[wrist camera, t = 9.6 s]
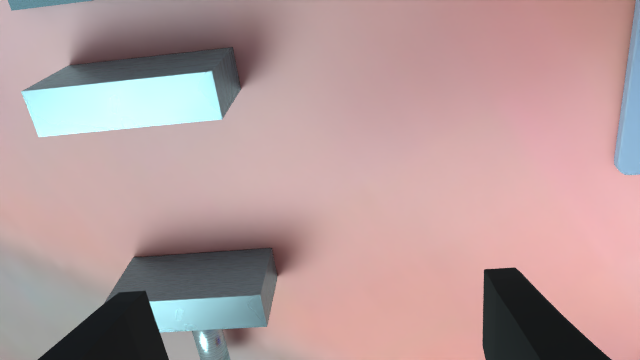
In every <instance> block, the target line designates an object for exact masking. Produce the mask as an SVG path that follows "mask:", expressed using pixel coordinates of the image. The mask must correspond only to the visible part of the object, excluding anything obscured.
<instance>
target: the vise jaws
mask: <svg viewBox="0 0 640 360" xmlns="http://www.w3.org/2000/svg"><path fill="white" fill-rule="evenodd" d="M240 90H241V87H240V82H239V77H238V72H237V67H236V62H235V57H234V51H233V47H231V48H222V49H213V50H204V51H195V52H186V53H177V54H168V55H159V56H150V57H141V58H132V59H123V60H114V61H105V62H96V63H87V64H78V65H69V66H67V67H65V68H63V69H61V70H59V71H58V72H56V73H54V74H52V75H50V76H49V77H47V78H45V79H43V80H41V81H40V82H38V83H36V84H34V85H32V86H31V87H29V88H27V89H25V90H23V91H22V95H23V97H24V100H25V102H26V105H27V108H28V110H29V113H30V115H31V118H32V121H33V123H34V126H35V128H36V131H37V133H38V136H39V137H44V136H54V135H65V134H75V133H85V132H96V131H106V130H116V129H127V128H137V127H147V126H158V125H168V124H178V123H189V122H199V121H209V120H220V119H223V117H224V116H225V114H226V112H227V111H228V109H229V108H230V106H231V104H232V103H233V101H234V100H235V98H236V96H237V95H238V93H239V92H240ZM276 282H277V272H276V267H275V262H274V257H273V252H272V248H265V249H250V250H236V251H221V252H207V253H193V254H178V255H164V256H149V257H135V258H133V259H132V260H131V262H130V263H129V265H128V266H127V268H126V270H125V271H124V273H123V274H122V276H121V278H120V279H119V281H118V282H117V284H116V285H115V287H114V289H113V290H112V292H111V293H110V295H109V297H108V298H107V300H106V301H105V303H106V302H107V301H108V300H110V299H111V298H112V297H113V296H115V295H116V294H117V293H119V292H131V291H146V293H147V296H148V299H149V302H150V305H151V308H152V311H153V314H154V317H155V320H156V323H157V326H158V329H159V332H176V331H192V333H193V336H194V340H195V343H196V346H197V350H198V353H199V356H200V360H230V356H229V352H228V348H227V345H226V341H225V337H224V333H223V330H222V329H232V328H251V327H267V325H268V320H269V315H270V311H271V306H272V301H273V296H274V291H275V287H276Z"/></svg>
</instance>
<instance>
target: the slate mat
mask: <svg viewBox="0 0 640 360" xmlns="http://www.w3.org/2000/svg"><path fill="white" fill-rule="evenodd" d="M84 1H92V0H8V2H9V5H10V7H11V10H20V9H28V8H36V7H44V6H52V5H60V4H68V3H76V2H84Z"/></svg>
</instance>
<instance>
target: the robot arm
mask: <svg viewBox="0 0 640 360" xmlns="http://www.w3.org/2000/svg"><path fill="white" fill-rule="evenodd" d="M614 165H615V166H616V168H617V169H618V170H619V171H620V172H621V173H623V174H625V175H638V174H640V0H636V4H635V11H634V18H633V26H632V33H631V40H630V47H629V55H628V62H627V69H626V76H625V84H624V91H623V98H622V105H621V113H620V120H619V127H618V135H617V142H616V149H615V156H614ZM483 349H484V354H485V358H486V360H611V359H610V358H609V357H608V356H607V355H605V354H604V353H603V352H602V351H601V350H600V349H599V348H598V347H596V346H595V345H594V344H593V343H592V342H591V341H590V340H589V339H588V338H586V337H585V336H584V335H583V334H582V333H581V332H580V331H579V330H578V329H577V328H576V327H575V326H573V325H572V324H571V323H570V322H569V321H568V320H567V319H566V318H565V317H564V316H563V315H562V314H561V313H560V312H559V311H558V310H557V309H556V308H555V307H554V306H553V305H552V304H551V303H550V302H549V301H548V300H547V299H546V298H545V297H544V296H543V295H542V294H541V293H540V292H539V291H538V290H537V289H536V288H535V287H534V286H533V285H532V284H531V283H530V282H529V281H528V280H527V279H526V278H525V276H524V275H523V274H522V273H521V272H520V271H518V270H517V269H516V268H500V269H484V301H483ZM38 360H169V359H168V356H167V353H166V350H165V347H164V344H163V341H162V338H161V335H160V332H159V329H158V326H157V323H156V320H155V317H154V314H153V311H152V308H151V305H150V302H149V299H148V296H147V293H146V291H131V292H119V293H117V294H116V295H115V296H113V297H112V298H111V299H110V300H108V301H107V302H106V303H104V304H103V305H102V306H101V307H100V308H98V309H97V310H96V311H95V312H94V313H92V314H91V315H90V316H89V317H88V318H87V319H85V320H84V321H83V322H82V323H81V324H79V325H78V326H77V327H76V328H75V329H74V330H72V331H71V332H70V333H69V334H68V335H66V336H65V337H64V338H63V339H62V340H61V341H59V342H58V343H57V344H56V345H55V346H53V347H52V348H51V349H50V350H49V351H47V352H46V353H45V354H44V355H43V356H41V357H40V358H39V359H38Z"/></svg>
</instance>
